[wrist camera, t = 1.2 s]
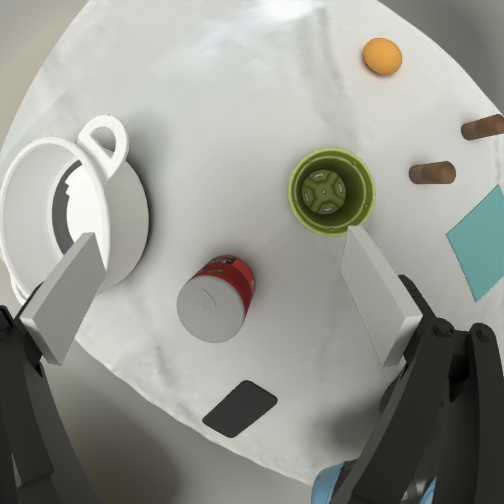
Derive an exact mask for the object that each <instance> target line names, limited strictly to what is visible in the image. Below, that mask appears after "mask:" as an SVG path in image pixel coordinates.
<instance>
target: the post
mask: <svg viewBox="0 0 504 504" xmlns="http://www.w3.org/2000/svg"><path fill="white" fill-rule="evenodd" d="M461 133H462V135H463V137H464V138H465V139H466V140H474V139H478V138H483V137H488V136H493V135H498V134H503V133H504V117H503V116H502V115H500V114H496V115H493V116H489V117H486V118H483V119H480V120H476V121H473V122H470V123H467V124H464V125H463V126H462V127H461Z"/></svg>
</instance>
